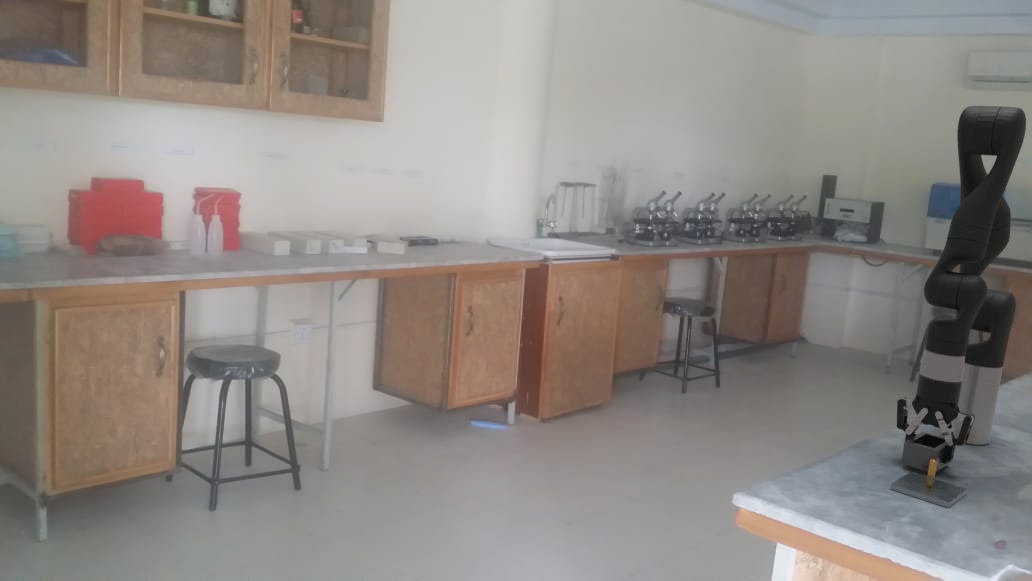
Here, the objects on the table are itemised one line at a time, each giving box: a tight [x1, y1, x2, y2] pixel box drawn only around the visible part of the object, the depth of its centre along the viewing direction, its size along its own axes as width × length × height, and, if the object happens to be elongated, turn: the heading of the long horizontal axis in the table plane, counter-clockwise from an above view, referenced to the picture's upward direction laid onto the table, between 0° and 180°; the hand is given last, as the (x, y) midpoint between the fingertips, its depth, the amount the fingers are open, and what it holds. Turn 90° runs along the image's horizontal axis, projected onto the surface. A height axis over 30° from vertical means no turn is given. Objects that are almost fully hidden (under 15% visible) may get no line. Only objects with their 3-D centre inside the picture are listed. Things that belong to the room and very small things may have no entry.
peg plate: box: [889, 459, 968, 509], centre depth 161 cm, size 10×10×6 cm
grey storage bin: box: [900, 431, 952, 473], centre depth 174 cm, size 10×6×4 cm, turn 137°
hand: (927, 457), depth 174 cm, fingers closed on grey storage bin, 6 cm apart
